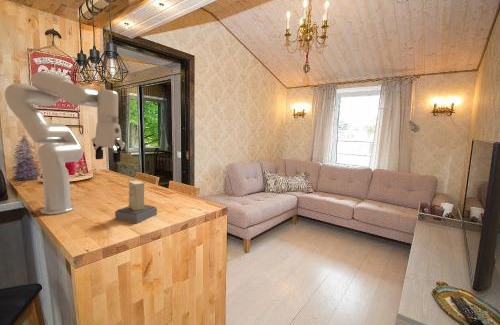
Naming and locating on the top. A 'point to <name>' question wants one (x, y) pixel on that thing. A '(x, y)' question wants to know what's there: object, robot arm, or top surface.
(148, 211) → the stand
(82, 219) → the top surface
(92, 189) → the top surface
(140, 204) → the skincare box
